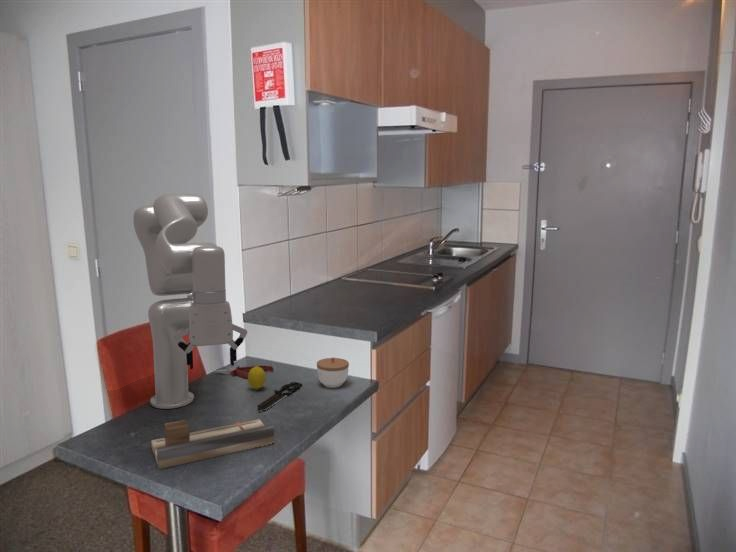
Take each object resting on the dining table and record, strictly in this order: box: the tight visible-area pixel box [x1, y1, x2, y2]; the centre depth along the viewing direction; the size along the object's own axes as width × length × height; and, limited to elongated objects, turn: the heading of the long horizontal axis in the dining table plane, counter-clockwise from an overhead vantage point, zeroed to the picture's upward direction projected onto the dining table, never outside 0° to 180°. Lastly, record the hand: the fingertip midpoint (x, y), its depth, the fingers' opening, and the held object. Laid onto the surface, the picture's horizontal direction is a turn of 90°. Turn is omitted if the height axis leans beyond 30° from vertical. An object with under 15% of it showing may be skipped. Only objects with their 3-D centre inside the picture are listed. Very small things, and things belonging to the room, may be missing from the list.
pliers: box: [213, 365, 274, 380], centre depth 192 cm, size 12×20×3 cm, turn 82°
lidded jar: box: [316, 357, 350, 389], centre depth 183 cm, size 11×11×9 cm
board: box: [150, 418, 275, 470], centre depth 139 cm, size 13×28×4 cm, turn 119°
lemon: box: [247, 365, 266, 391], centre depth 177 cm, size 6×6×8 cm
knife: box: [257, 381, 303, 412], centre depth 171 cm, size 25×6×1 cm, turn 154°
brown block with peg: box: [164, 419, 190, 446], centre depth 134 cm, size 9×5×6 cm, turn 29°
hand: (212, 365), depth 134 cm, fingers open, 9 cm apart
